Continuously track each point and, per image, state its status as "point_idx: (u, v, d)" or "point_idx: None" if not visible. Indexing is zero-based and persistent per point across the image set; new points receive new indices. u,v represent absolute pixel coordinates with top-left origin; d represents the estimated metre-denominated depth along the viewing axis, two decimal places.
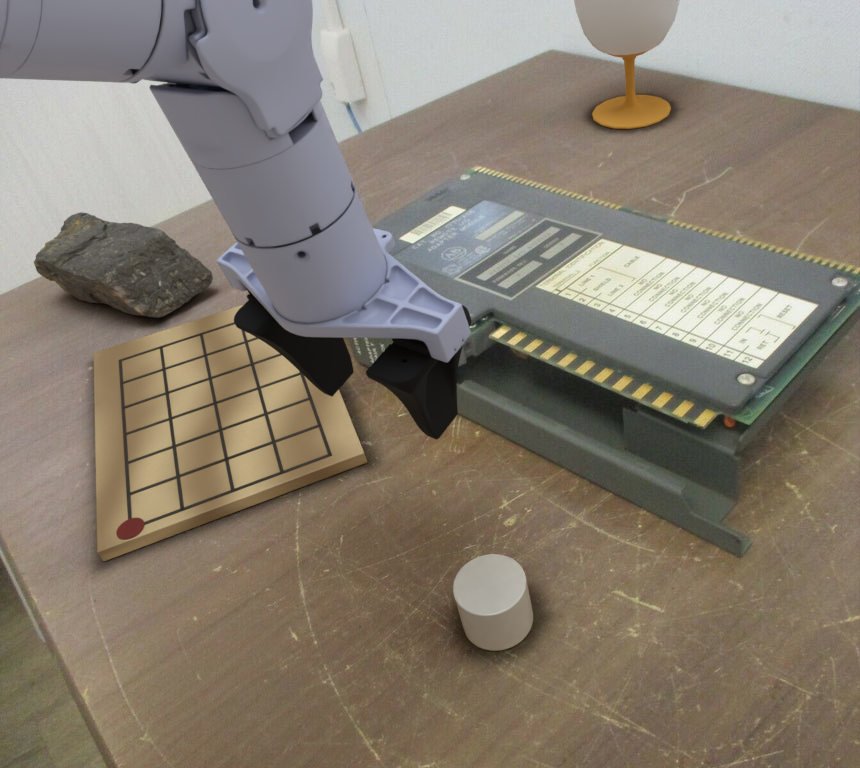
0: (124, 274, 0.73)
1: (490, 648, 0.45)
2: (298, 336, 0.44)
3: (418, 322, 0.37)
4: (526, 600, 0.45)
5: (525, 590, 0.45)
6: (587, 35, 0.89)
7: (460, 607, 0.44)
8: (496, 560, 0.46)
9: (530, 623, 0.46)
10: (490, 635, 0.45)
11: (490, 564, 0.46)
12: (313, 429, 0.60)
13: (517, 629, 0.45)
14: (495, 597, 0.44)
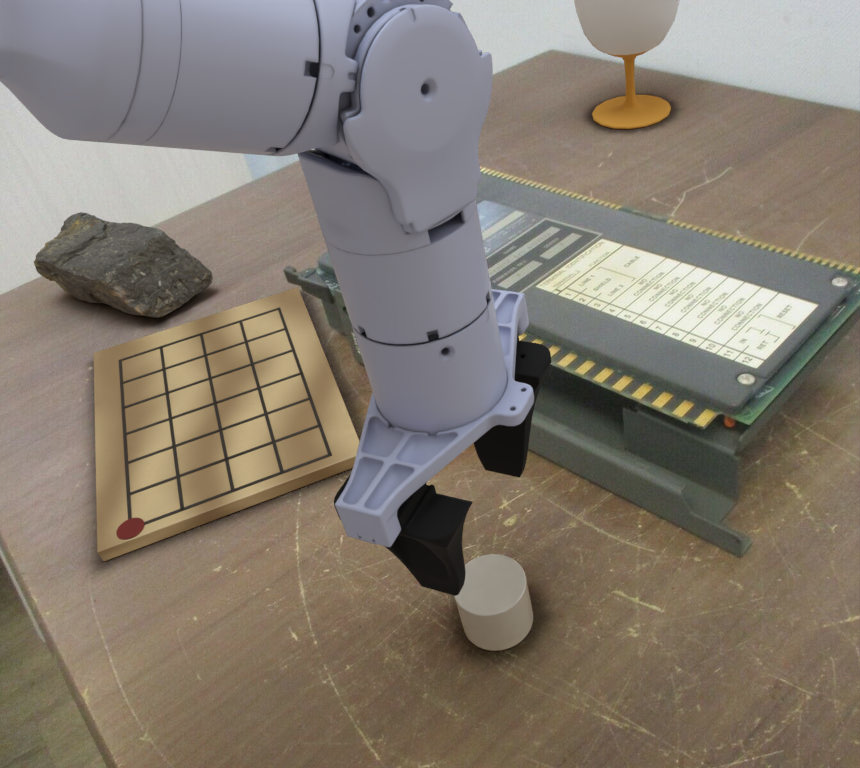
0: (124, 273, 0.73)
1: (490, 648, 0.45)
2: None
3: None
4: (526, 600, 0.45)
5: (525, 590, 0.45)
6: (587, 35, 0.89)
7: (460, 607, 0.44)
8: (496, 560, 0.46)
9: (530, 623, 0.46)
10: (490, 635, 0.45)
11: (490, 564, 0.46)
12: (313, 429, 0.60)
13: (517, 629, 0.45)
14: (495, 597, 0.44)
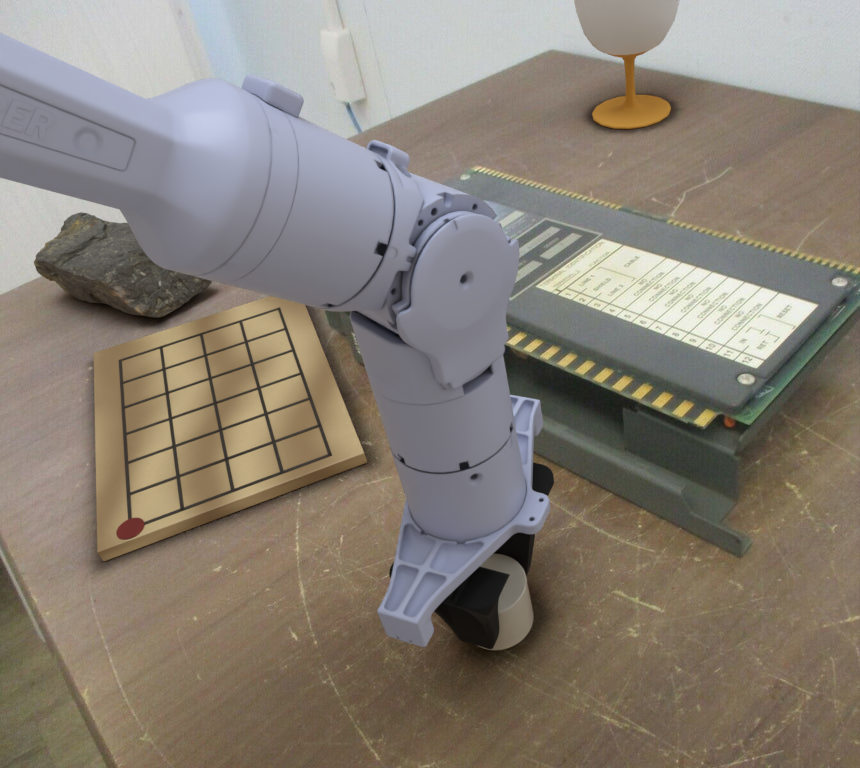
0: (124, 274, 0.73)
1: None
2: None
3: (408, 590, 0.37)
4: (526, 600, 0.45)
5: (525, 590, 0.45)
6: (587, 35, 0.89)
7: None
8: (496, 560, 0.46)
9: (530, 623, 0.46)
10: None
11: (490, 564, 0.46)
12: (313, 429, 0.60)
13: (517, 628, 0.45)
14: None
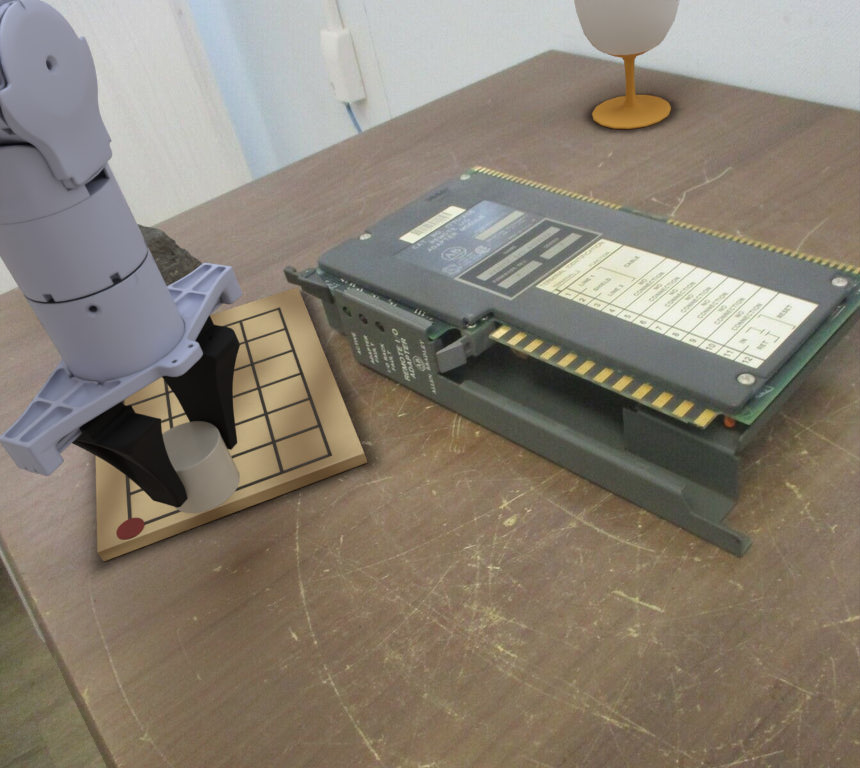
0: None
1: (187, 510, 0.47)
2: (176, 379, 0.46)
3: None
4: (219, 462, 0.46)
5: (215, 451, 0.46)
6: (587, 35, 0.89)
7: None
8: (197, 426, 0.47)
9: (231, 488, 0.47)
10: None
11: (190, 429, 0.47)
12: (313, 429, 0.60)
13: (211, 490, 0.46)
14: (184, 456, 0.45)
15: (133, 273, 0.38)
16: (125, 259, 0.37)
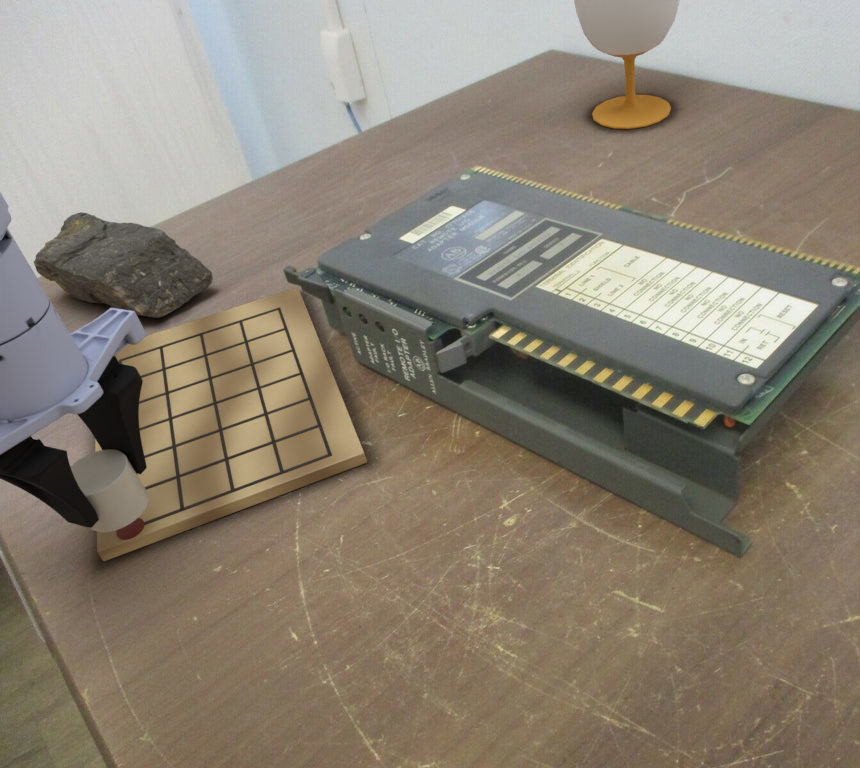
0: (124, 274, 0.73)
1: (100, 530, 0.52)
2: (86, 413, 0.51)
3: None
4: (126, 486, 0.51)
5: (123, 476, 0.51)
6: (587, 35, 0.89)
7: None
8: (108, 454, 0.53)
9: (139, 509, 0.53)
10: None
11: (101, 457, 0.52)
12: (313, 429, 0.60)
13: (120, 511, 0.52)
14: (94, 482, 0.51)
15: (34, 325, 0.43)
16: (35, 305, 0.43)
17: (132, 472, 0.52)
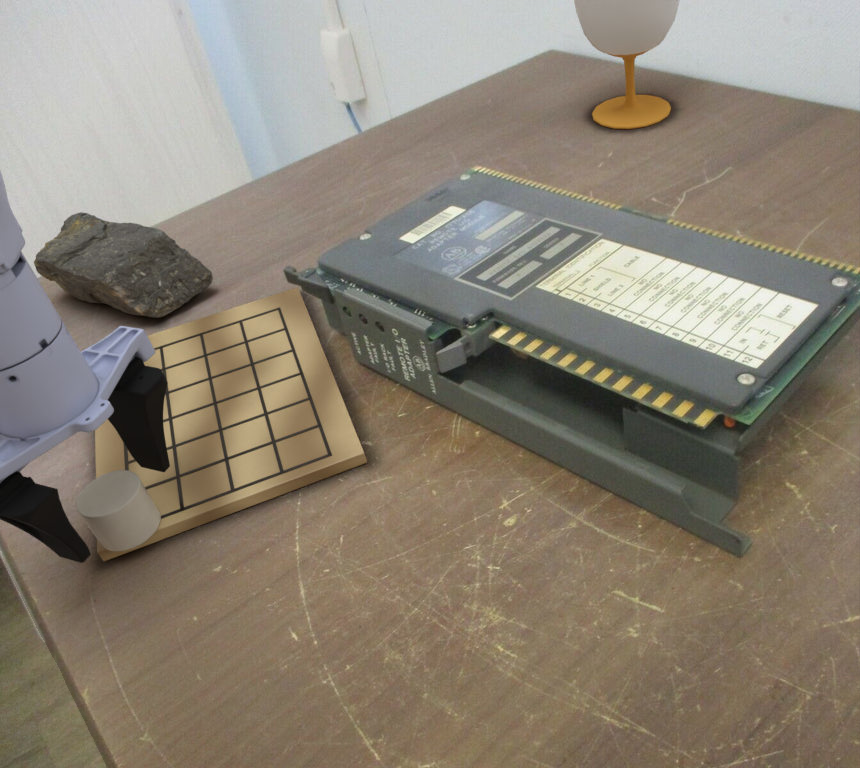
0: (124, 274, 0.73)
1: (113, 549, 0.53)
2: (113, 413, 0.53)
3: None
4: (139, 506, 0.53)
5: (136, 497, 0.52)
6: (587, 35, 0.89)
7: (78, 512, 0.52)
8: (121, 474, 0.54)
9: (151, 528, 0.54)
10: (107, 536, 0.52)
11: (115, 478, 0.54)
12: (313, 429, 0.60)
13: (133, 531, 0.53)
14: (108, 503, 0.52)
15: (47, 346, 0.44)
16: (48, 327, 0.44)
17: (145, 493, 0.53)
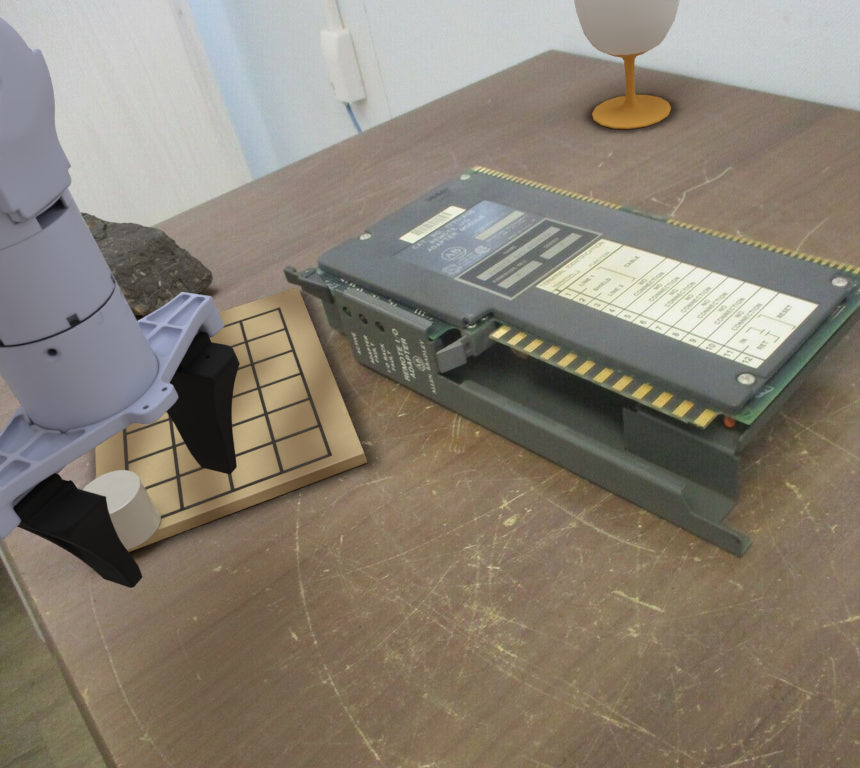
0: (124, 274, 0.73)
1: None
2: None
3: None
4: (139, 506, 0.53)
5: (136, 497, 0.52)
6: (587, 35, 0.89)
7: None
8: (121, 474, 0.54)
9: (151, 528, 0.54)
10: None
11: (115, 478, 0.54)
12: (313, 429, 0.60)
13: (133, 531, 0.53)
14: (108, 503, 0.52)
15: (98, 311, 0.34)
16: (85, 298, 0.33)
17: (145, 493, 0.53)
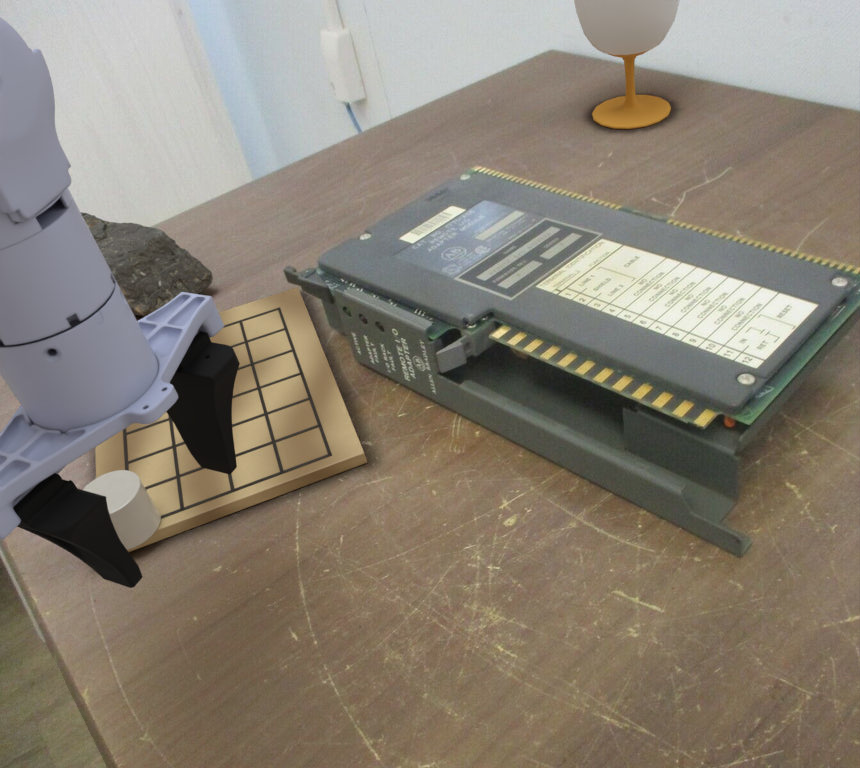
0: (124, 274, 0.73)
1: None
2: None
3: None
4: (139, 506, 0.53)
5: (136, 497, 0.52)
6: (587, 35, 0.89)
7: None
8: (121, 474, 0.54)
9: (151, 528, 0.54)
10: None
11: (115, 478, 0.54)
12: (313, 429, 0.60)
13: (133, 531, 0.53)
14: (108, 503, 0.52)
15: (98, 311, 0.34)
16: (85, 298, 0.33)
17: (145, 493, 0.53)
